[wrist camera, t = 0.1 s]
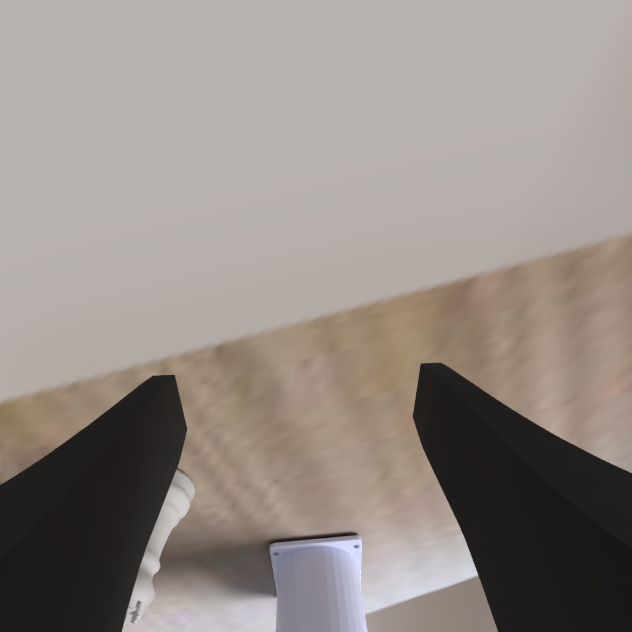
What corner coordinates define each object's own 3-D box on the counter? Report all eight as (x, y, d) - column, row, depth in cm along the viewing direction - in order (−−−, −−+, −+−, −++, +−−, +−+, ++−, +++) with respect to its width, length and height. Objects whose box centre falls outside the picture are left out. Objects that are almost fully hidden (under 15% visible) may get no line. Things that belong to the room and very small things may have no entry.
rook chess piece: (208, 489, 26) (177, 617, 19) (163, 511, 27) (116, 642, 20) (169, 454, 24) (118, 582, 17) (121, 479, 25) (53, 611, 18)
